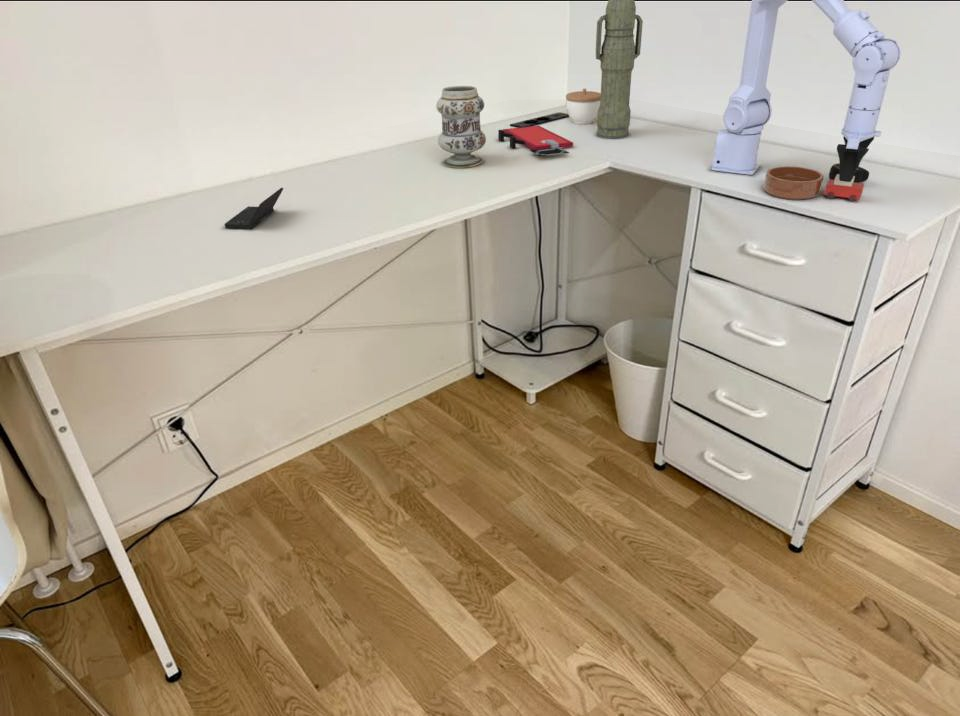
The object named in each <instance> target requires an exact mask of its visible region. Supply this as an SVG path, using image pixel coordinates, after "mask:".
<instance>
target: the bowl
mask: <svg viewBox="0 0 960 716" xmlns="http://www.w3.org/2000/svg"><path fill="white" fill-rule="evenodd" d="M823 181H824V174H823V173H822V172H820V171H818V170H815V169H814V168H813V169H812V168H808V167H803V166H794V165H793V166H792V165H790V166H789V165H788V166H787V165H786V166H785V165H784V166H775V167H771V168H768V169H767V171H765V178H764V183H763V190H764V191H765V192H767V193H768V195H771V196H773V197H776V198H779V199H785V200H793V201H795V200H796V201H798V200H799V201H800V200H809V199H811V198H815V197H817V196H819V195H820V193H821V191H822V185H823Z"/></svg>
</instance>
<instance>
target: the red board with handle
mask: <svg viewBox="0 0 960 716" xmlns="http://www.w3.org/2000/svg"><path fill="white" fill-rule="evenodd" d="M497 136H498V137H497V139H498V141H499V142H503V143H504V142H505V138H509V148H510V149H516V146H517V145H522V146H525V147H528V148H529V151H530V152H531V153H533V154H535V155H536V156H538V157H546V156H553V155H554V156H555V155H564V154H570V151H567V150H565V149H563V148H568V147H574V142H573V141H571V140H569V139H567V138H565V137H564V136H561V135H559V134H557V133H555V132H553V131H550V130H549V129H547V128H544V127H543V126H541V125H531V126H522V127H513V128H503V129H498V135H497Z"/></svg>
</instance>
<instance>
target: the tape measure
mask: <svg viewBox="0 0 960 716" xmlns="http://www.w3.org/2000/svg"><path fill="white" fill-rule="evenodd" d="M839 168H840V162H839V163H838V162H837V163H834V164H833V165H831V167H830V169H829V173H828V180H829V179H830V180H835V177H836V176H837V174H839ZM854 176H855V178H854V182H855V183H864V182H866V181H867V180H869V177H870V171H869V170H868V169H865V168H864V167H862V166H860V165H859V166H858V168H857V170H856V172H855V174H854Z"/></svg>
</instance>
